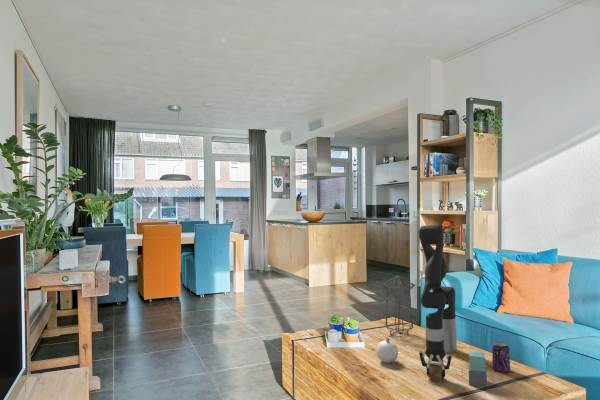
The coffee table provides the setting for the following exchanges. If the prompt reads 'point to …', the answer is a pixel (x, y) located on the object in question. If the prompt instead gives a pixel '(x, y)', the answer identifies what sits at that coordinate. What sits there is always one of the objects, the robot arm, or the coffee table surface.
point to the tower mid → (477, 361)
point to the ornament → (387, 351)
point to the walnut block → (435, 372)
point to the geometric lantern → (399, 303)
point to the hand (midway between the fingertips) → (436, 377)
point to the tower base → (478, 378)
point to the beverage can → (501, 357)
